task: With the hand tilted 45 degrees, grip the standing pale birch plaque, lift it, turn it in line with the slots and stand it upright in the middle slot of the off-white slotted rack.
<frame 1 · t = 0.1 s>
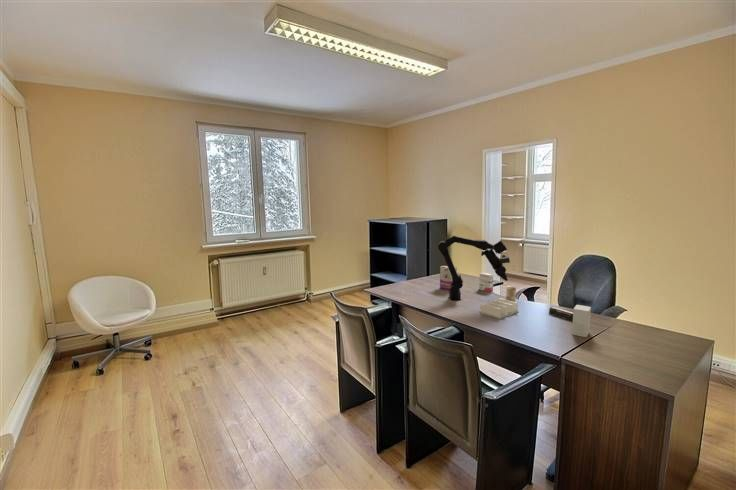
hand: (505, 278, 218), 15 cm above the table, tool tilted 35°, fingers open, 9 cm apart
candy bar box: (447, 289, 251), on the table
brown flat box: (560, 316, 195), on the table
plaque: (510, 305, 212), on the table
rack: (499, 312, 201), on the table
ink box: (485, 290, 248), on the table
small box: (580, 333, 170), on the table
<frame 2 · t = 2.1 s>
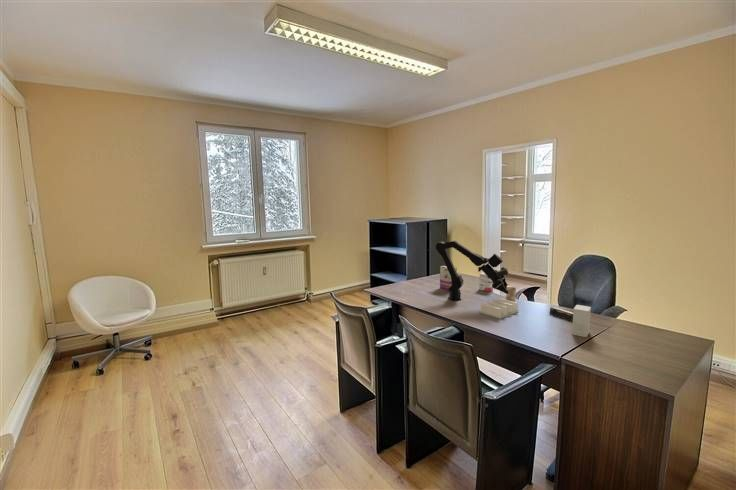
hand: (508, 291, 212), 9 cm above the table, tool tilted 45°, fingers open, 9 cm apart
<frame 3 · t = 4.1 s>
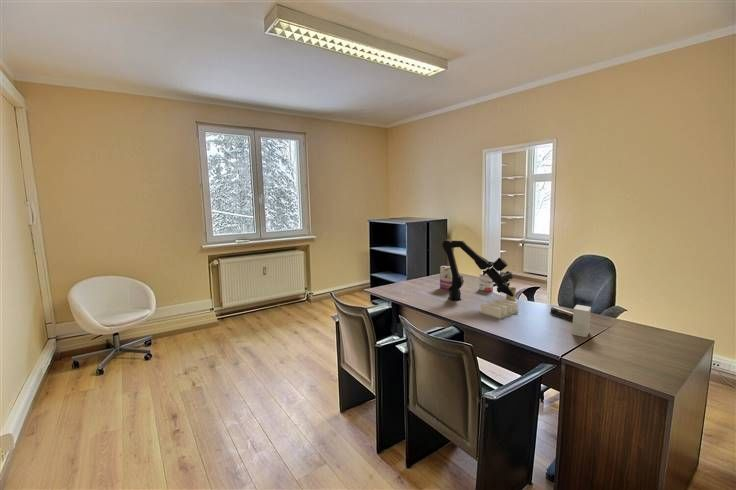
hand: (513, 295, 211), 7 cm above the table, tool tilted 45°, fingers closed on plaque, 3 cm apart
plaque: (510, 305, 212), on the table, touching gripper
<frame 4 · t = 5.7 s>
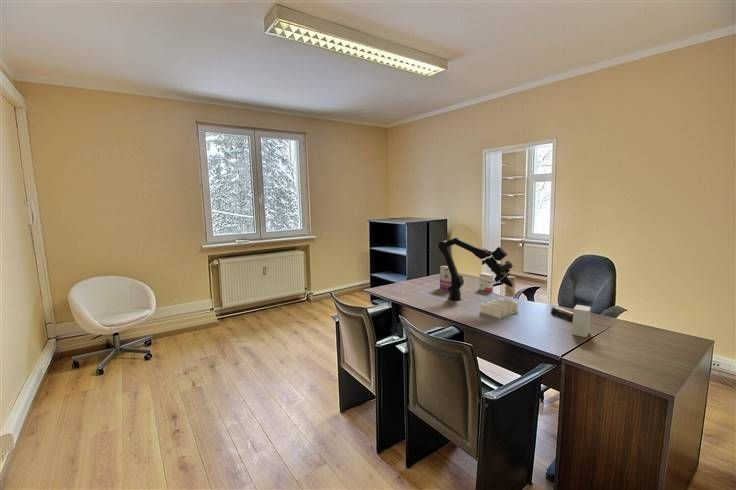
hand: (512, 285, 207), 13 cm above the table, tool tilted 45°, fingers closed on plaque, 3 cm apart
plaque: (509, 296, 208), point 7 cm above the table, touching gripper
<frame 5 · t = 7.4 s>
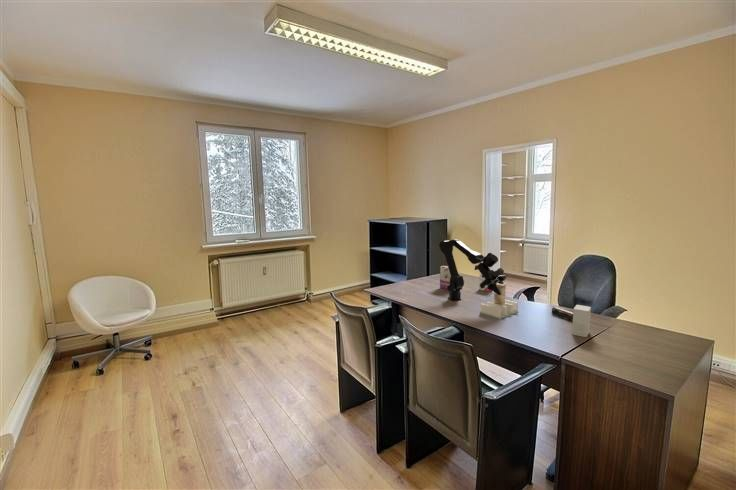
hand: (501, 294, 198), 11 cm above the table, tool tilted 45°, fingers closed on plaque, 3 cm apart
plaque: (499, 304, 200), point 5 cm above the table, touching gripper
when the fingers open (9 cm above the table, at t = 8.5 s): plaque drops 1 cm, resting on rack.
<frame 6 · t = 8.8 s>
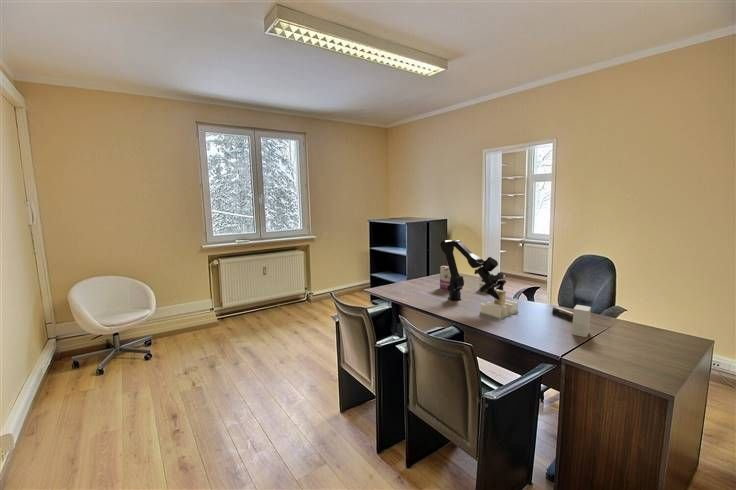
hand: (501, 298, 199), 9 cm above the table, tool tilted 45°, fingers open, 6 cm apart
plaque: (499, 310, 201), point 1 cm above the table, touching rack
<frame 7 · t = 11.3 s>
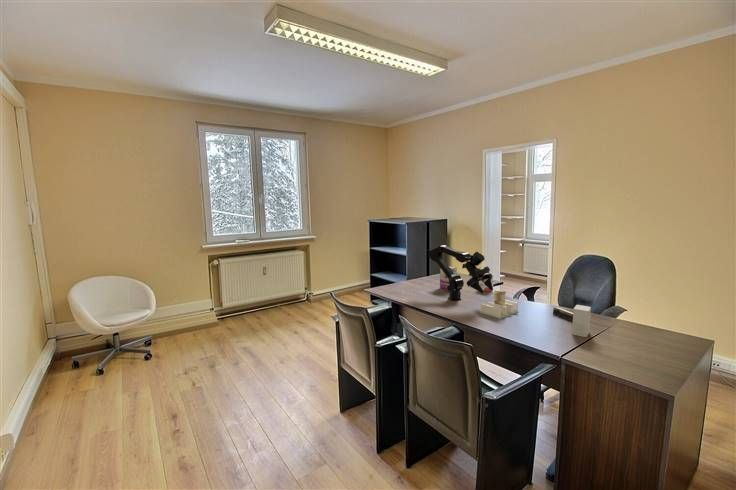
hand: (487, 291, 206), 11 cm above the table, tool tilted 45°, fingers open, 9 cm apart
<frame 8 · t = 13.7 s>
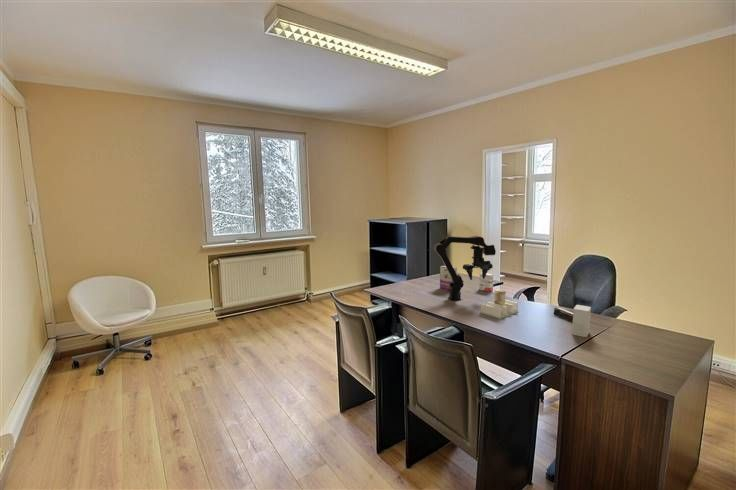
hand: (477, 279, 226), 13 cm above the table, tool pointing down, fingers open, 9 cm apart
at the end: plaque 0.1 cm off-centre on the rack, point 1.0 cm above the rack's base; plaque tilted 0°; the gripper is holding nothing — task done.
